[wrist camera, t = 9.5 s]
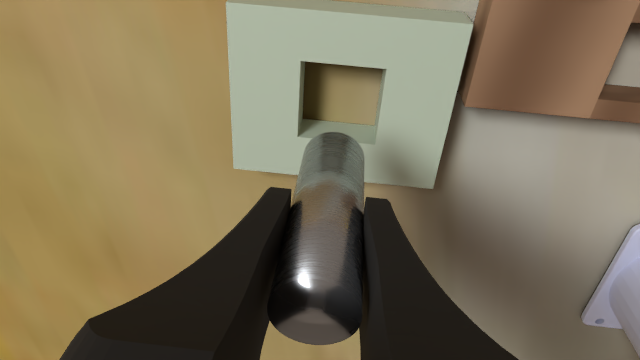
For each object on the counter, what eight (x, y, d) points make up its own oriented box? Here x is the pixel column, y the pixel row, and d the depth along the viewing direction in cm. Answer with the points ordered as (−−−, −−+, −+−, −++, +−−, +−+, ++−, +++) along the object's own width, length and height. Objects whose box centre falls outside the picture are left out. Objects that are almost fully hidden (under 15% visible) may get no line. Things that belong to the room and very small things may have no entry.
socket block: (795, -120, 16) (843, -121, 15) (671, 109, 21) (697, 128, 20) (514, -142, 17) (530, -144, 15) (457, 89, 22) (464, 106, 20)
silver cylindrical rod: (368, 135, 16) (367, 286, 10) (360, 187, 17) (356, 349, 11) (304, 128, 16) (267, 274, 10) (301, 181, 17) (266, 339, 11)
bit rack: (464, 12, 20) (473, 24, 18) (428, 167, 24) (432, 189, 23) (237, -8, 20) (226, 2, 18) (242, 149, 25) (233, 168, 23)
